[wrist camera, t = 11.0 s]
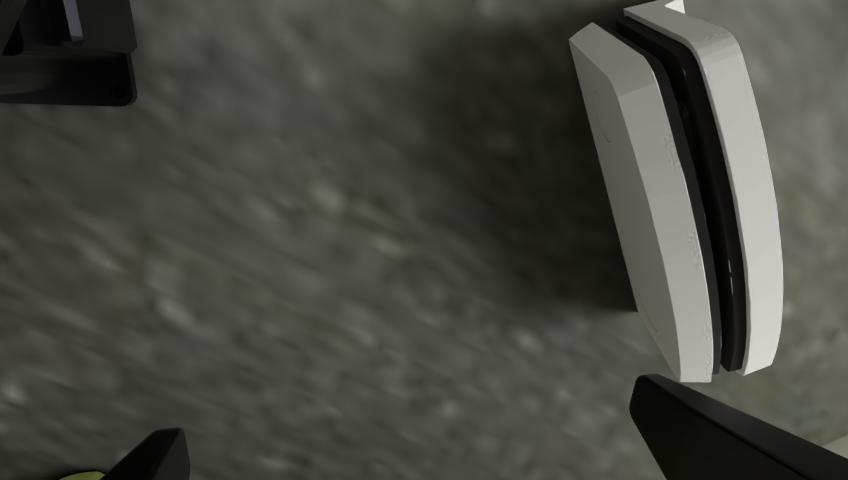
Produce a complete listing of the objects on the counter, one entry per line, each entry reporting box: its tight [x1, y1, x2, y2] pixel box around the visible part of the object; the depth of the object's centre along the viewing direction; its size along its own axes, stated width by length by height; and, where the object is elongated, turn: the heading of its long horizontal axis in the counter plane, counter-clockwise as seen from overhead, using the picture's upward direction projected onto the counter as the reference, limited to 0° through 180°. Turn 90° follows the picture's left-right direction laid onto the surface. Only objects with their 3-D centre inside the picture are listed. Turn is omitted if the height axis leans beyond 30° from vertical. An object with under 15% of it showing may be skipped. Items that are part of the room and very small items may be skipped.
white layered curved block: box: [569, 0, 783, 382], centre depth 19 cm, size 17×5×10 cm, turn 24°
